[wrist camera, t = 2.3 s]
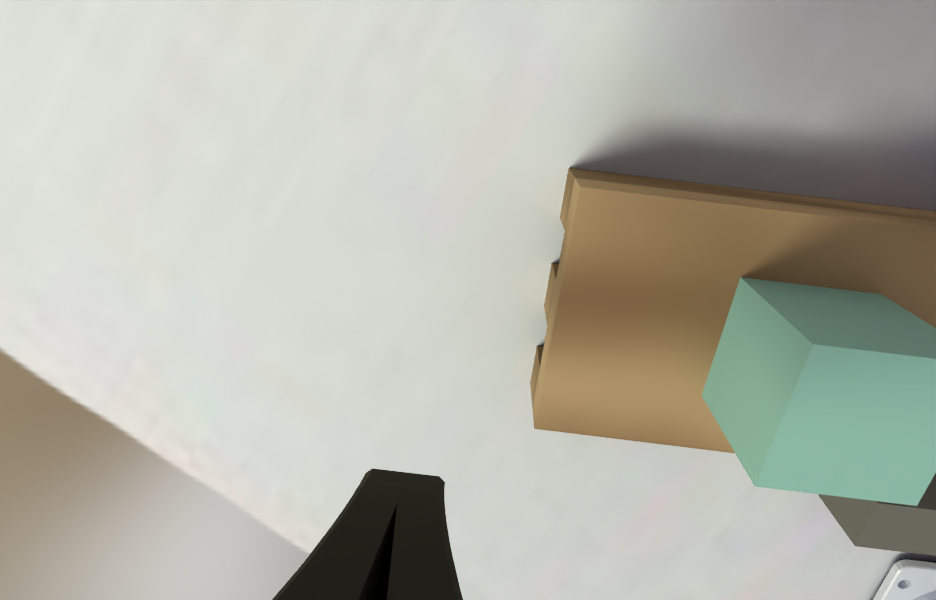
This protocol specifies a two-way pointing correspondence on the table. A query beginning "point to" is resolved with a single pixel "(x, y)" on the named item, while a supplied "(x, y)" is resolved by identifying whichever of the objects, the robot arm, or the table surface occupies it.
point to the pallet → (694, 292)
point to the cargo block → (827, 391)
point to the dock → (888, 522)
